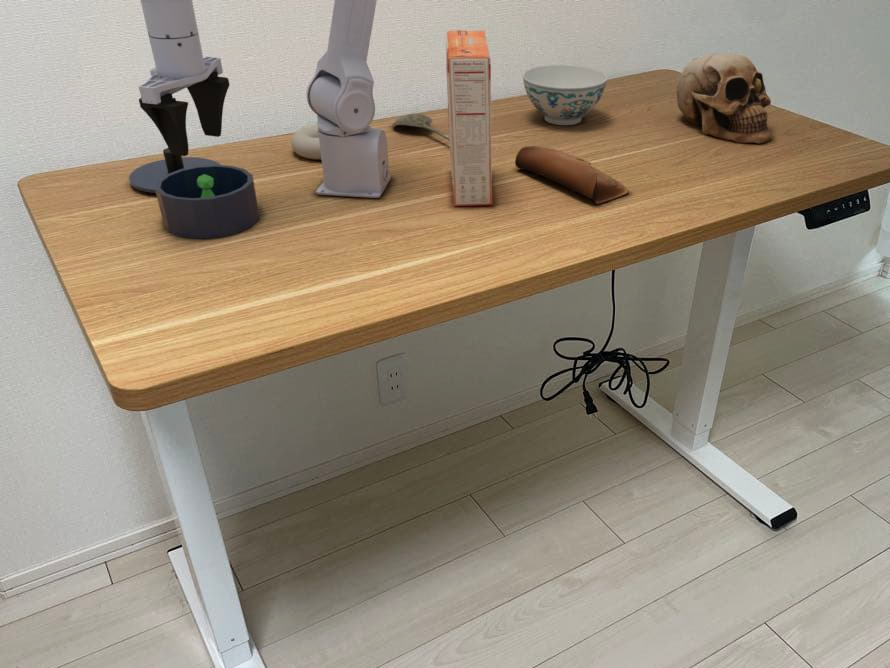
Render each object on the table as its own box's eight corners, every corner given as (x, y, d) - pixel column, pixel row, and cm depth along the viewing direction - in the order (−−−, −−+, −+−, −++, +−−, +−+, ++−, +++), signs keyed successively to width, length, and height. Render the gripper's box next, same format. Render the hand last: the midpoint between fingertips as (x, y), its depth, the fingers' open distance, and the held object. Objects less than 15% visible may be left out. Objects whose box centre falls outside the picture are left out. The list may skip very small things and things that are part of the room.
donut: (282, 160, 135) (341, 165, 133) (278, 139, 133) (338, 143, 131) (307, 140, 143) (363, 144, 141) (304, 119, 141) (361, 123, 139)
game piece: (196, 211, 117) (186, 169, 114) (228, 208, 118) (220, 167, 115) (195, 224, 114) (185, 181, 110) (228, 221, 115) (220, 178, 111)
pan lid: (225, 161, 134) (220, 132, 131) (223, 193, 124) (217, 162, 121) (135, 167, 131) (127, 137, 128) (125, 200, 121) (117, 169, 118)
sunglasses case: (633, 189, 127) (621, 156, 121) (603, 222, 125) (589, 190, 120) (553, 155, 137) (538, 124, 132) (524, 185, 136) (508, 155, 131)
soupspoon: (418, 123, 153) (387, 132, 150) (416, 104, 151) (384, 113, 148) (488, 155, 138) (454, 165, 135) (486, 134, 136) (452, 144, 133)
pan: (258, 198, 122) (252, 161, 119) (259, 234, 113) (252, 195, 110) (168, 205, 120) (159, 168, 116) (161, 242, 110) (151, 203, 107)
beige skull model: (771, 145, 145) (777, 62, 138) (669, 145, 149) (670, 65, 142) (772, 120, 157) (779, 44, 150) (679, 121, 162) (680, 47, 155)
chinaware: (606, 134, 148) (610, 88, 144) (521, 131, 148) (522, 86, 144) (601, 107, 160) (604, 65, 156) (522, 105, 160) (523, 63, 156)
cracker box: (449, 171, 132) (444, 29, 120) (488, 171, 133) (487, 29, 120) (451, 207, 121) (445, 54, 109) (493, 207, 122) (492, 54, 109)
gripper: (179, 18, 108) (201, 124, 117) (105, 44, 97) (135, 159, 105) (228, 22, 107) (246, 129, 115) (159, 49, 96) (185, 166, 104)
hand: (196, 144), depth 110 cm, fingers open, 7 cm apart
